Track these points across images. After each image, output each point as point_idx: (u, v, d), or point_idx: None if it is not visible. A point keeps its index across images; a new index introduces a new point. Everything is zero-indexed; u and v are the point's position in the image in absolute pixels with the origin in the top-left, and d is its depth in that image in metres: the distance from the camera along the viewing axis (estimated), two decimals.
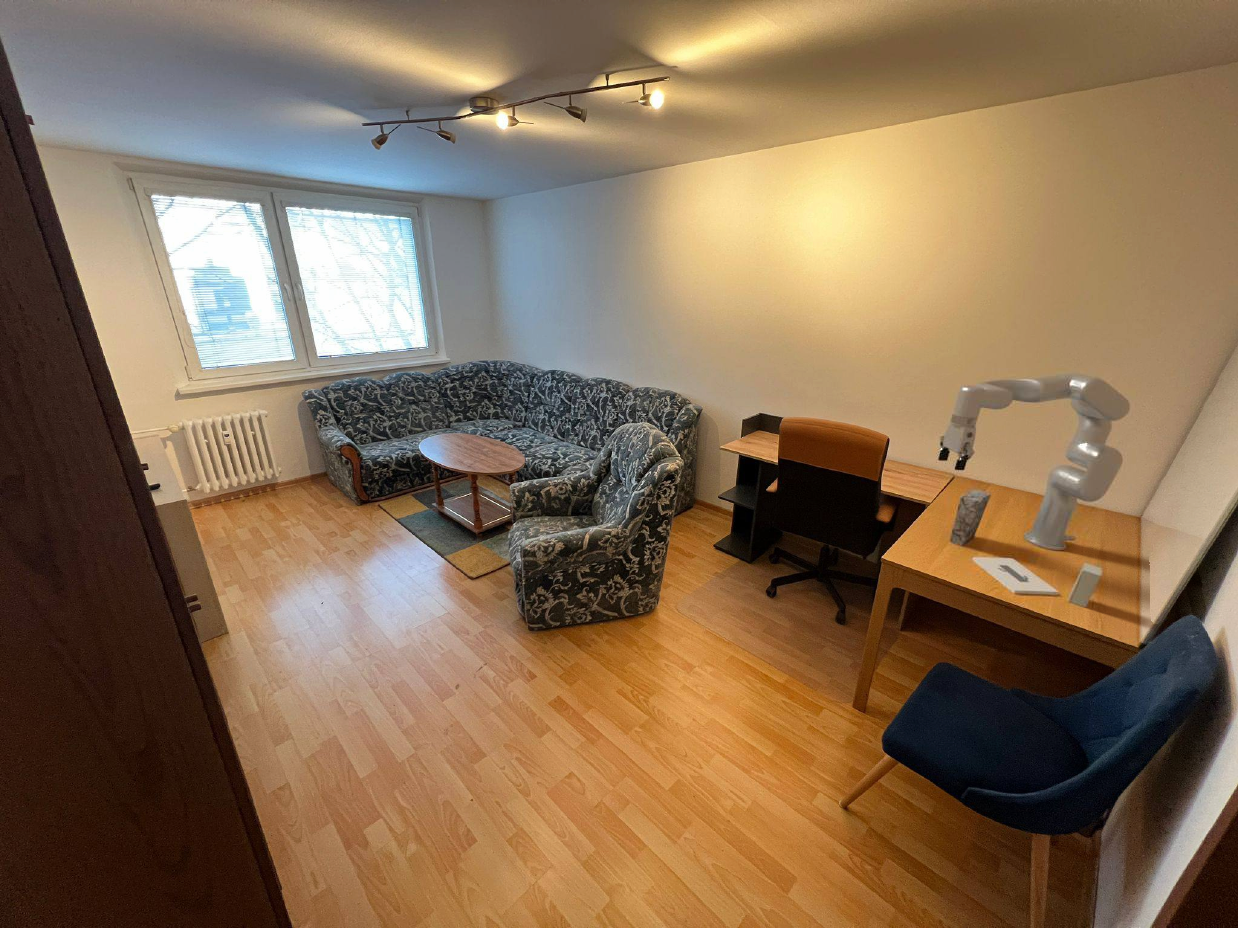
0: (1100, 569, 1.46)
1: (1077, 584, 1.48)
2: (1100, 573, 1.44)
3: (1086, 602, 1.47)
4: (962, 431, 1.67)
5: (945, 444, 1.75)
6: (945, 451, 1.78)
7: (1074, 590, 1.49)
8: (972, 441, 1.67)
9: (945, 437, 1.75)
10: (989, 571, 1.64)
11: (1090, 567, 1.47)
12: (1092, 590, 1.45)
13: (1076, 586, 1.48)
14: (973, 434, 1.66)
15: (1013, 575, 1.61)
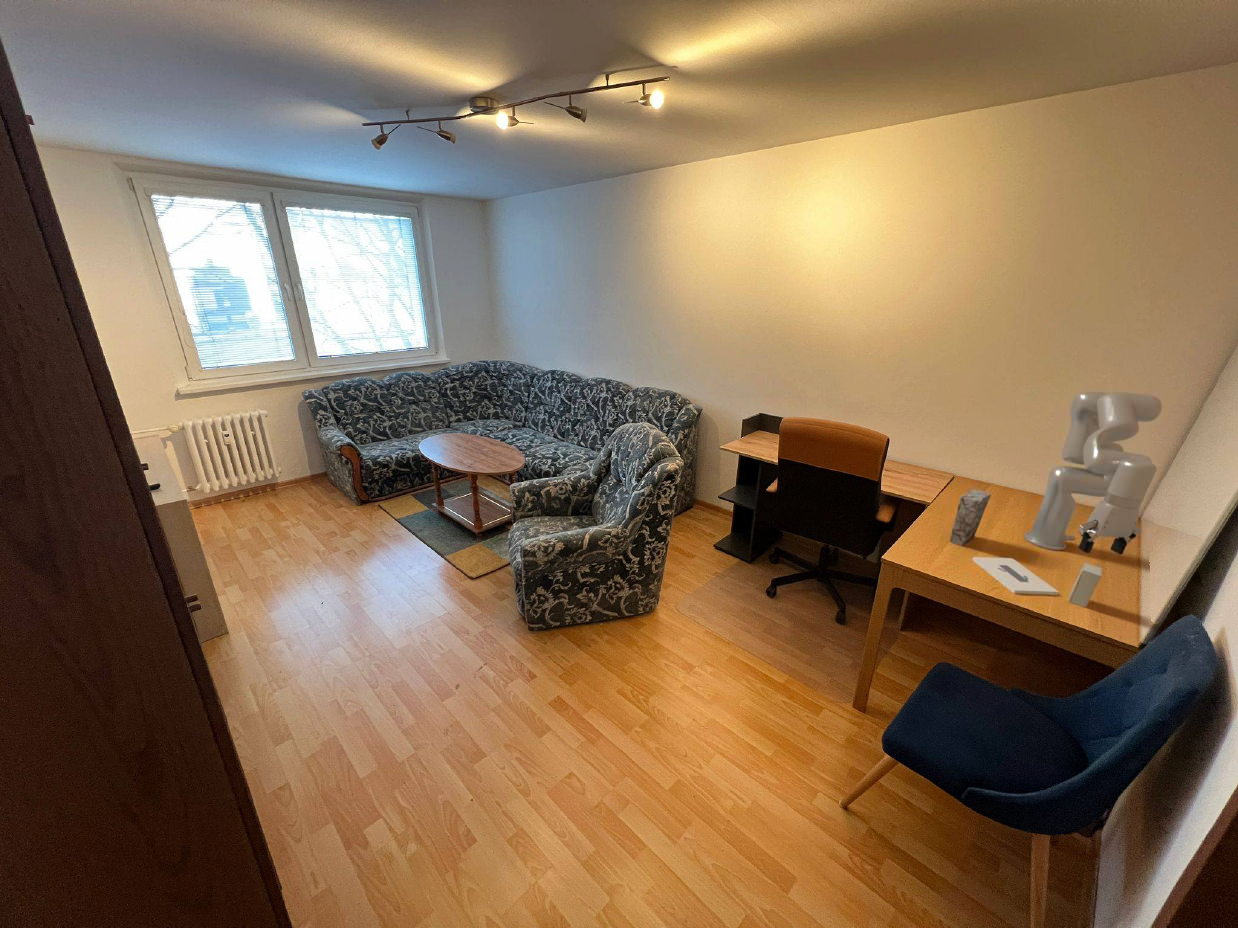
0: (1100, 569, 1.46)
1: (1077, 584, 1.48)
2: (1100, 573, 1.44)
3: (1086, 602, 1.47)
4: (1138, 513, 1.37)
5: (1106, 534, 1.40)
6: None
7: (1074, 590, 1.49)
8: None
9: (1106, 526, 1.39)
10: (989, 571, 1.64)
11: (1090, 567, 1.47)
12: (1092, 590, 1.45)
13: (1076, 586, 1.48)
14: None
15: (1013, 575, 1.61)
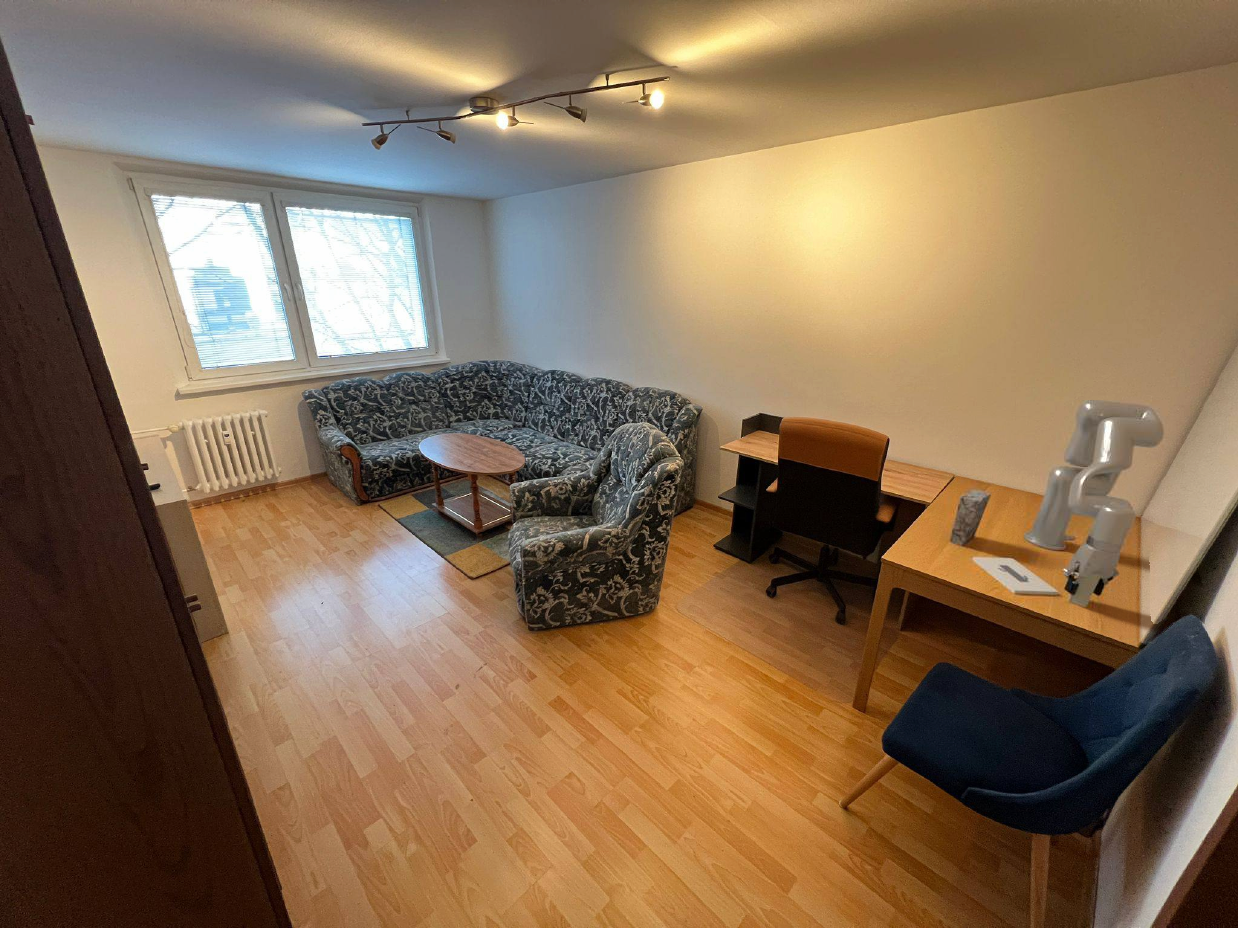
0: None
1: None
2: (1100, 573, 1.44)
3: (1086, 602, 1.47)
4: (1118, 556, 1.42)
5: (1088, 575, 1.45)
6: None
7: None
8: None
9: (1088, 568, 1.44)
10: (989, 571, 1.64)
11: None
12: (1092, 590, 1.45)
13: None
14: None
15: (1013, 575, 1.61)
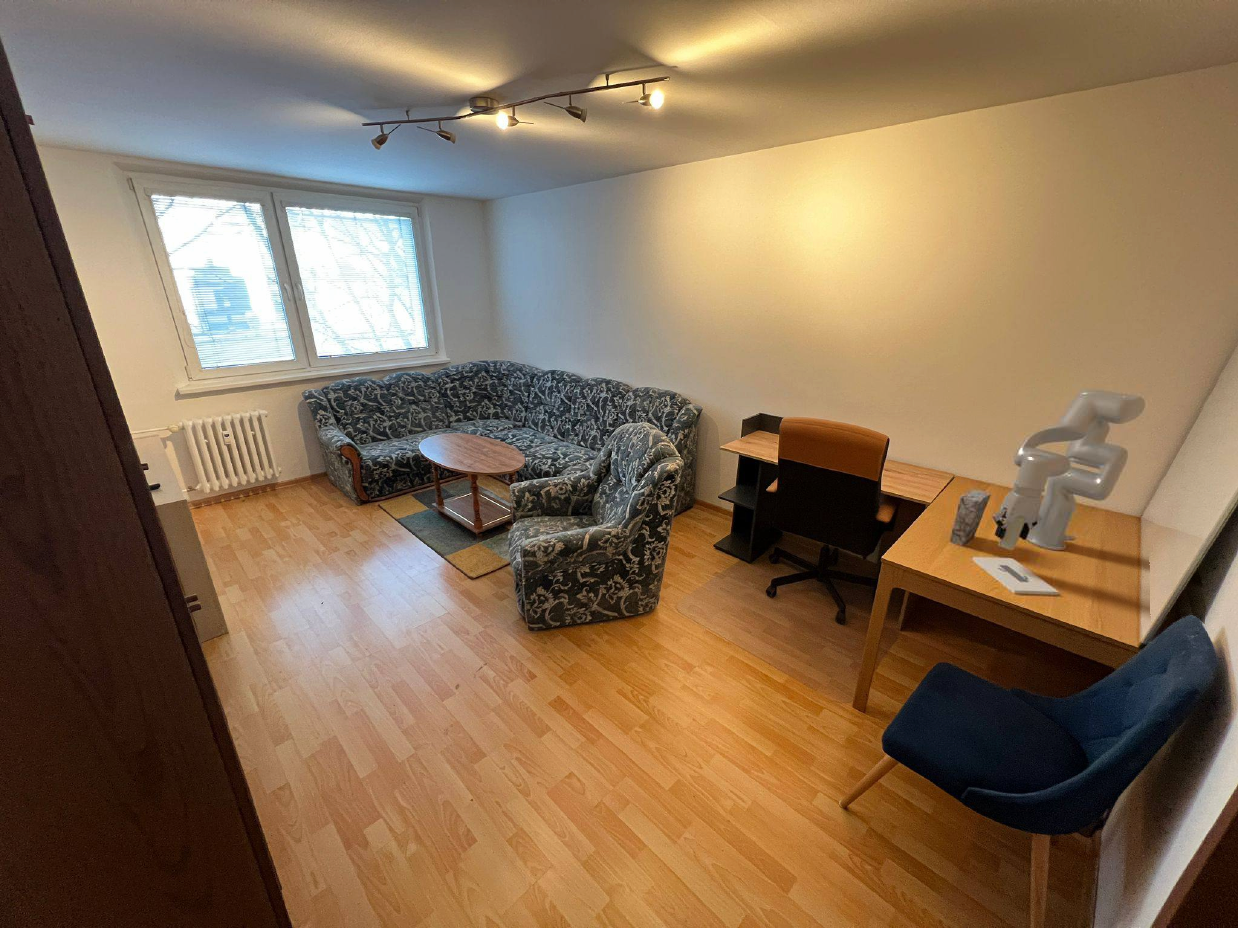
0: None
1: None
2: (1024, 518, 1.59)
3: (1013, 545, 1.62)
4: (1040, 501, 1.57)
5: (1013, 520, 1.60)
6: None
7: None
8: None
9: (1013, 513, 1.59)
10: (989, 571, 1.64)
11: None
12: (1018, 533, 1.60)
13: None
14: None
15: (1013, 575, 1.61)
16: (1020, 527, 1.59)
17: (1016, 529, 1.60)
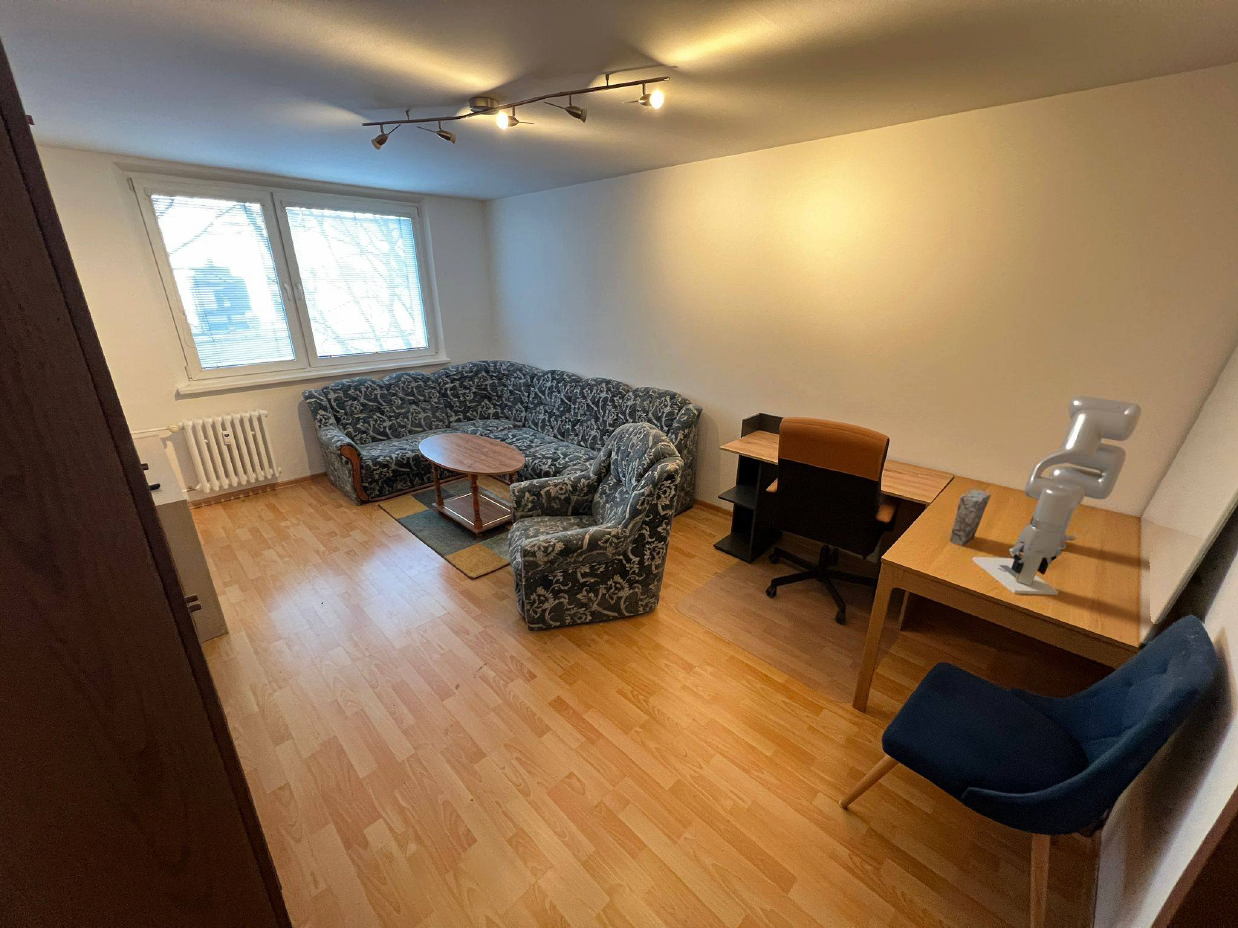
0: None
1: None
2: None
3: (1031, 580, 1.55)
4: (1060, 536, 1.50)
5: (1031, 554, 1.52)
6: None
7: None
8: None
9: (1031, 548, 1.52)
10: (989, 571, 1.64)
11: None
12: (1036, 569, 1.53)
13: None
14: None
15: (1013, 575, 1.61)
16: (1038, 562, 1.52)
17: (1034, 564, 1.53)
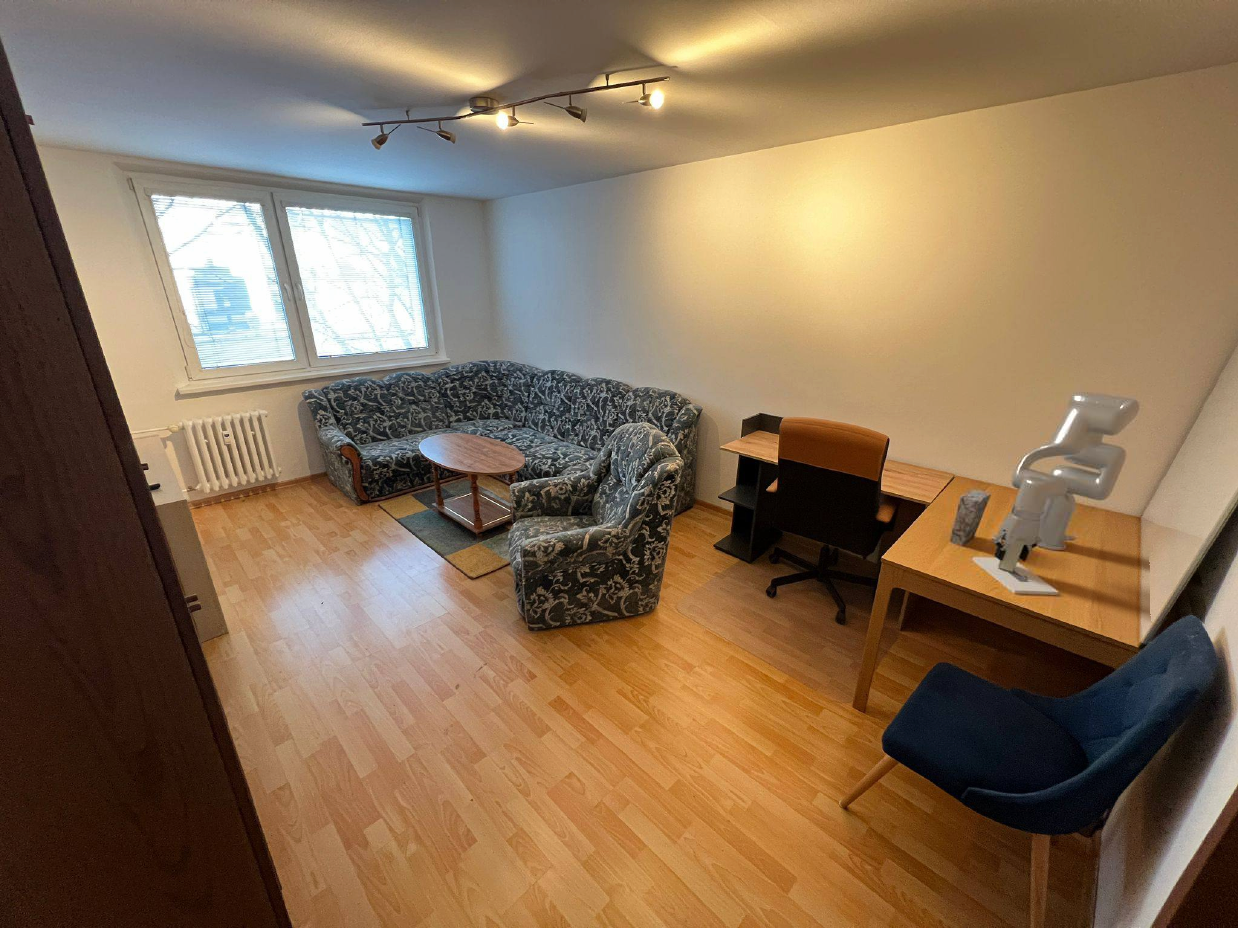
0: None
1: None
2: (1024, 540, 1.59)
3: (1012, 567, 1.62)
4: (1039, 524, 1.57)
5: (1013, 542, 1.60)
6: None
7: None
8: None
9: (1013, 535, 1.59)
10: (989, 571, 1.64)
11: None
12: (1017, 555, 1.60)
13: None
14: None
15: (1013, 575, 1.61)
16: (1019, 549, 1.59)
17: (1015, 551, 1.60)
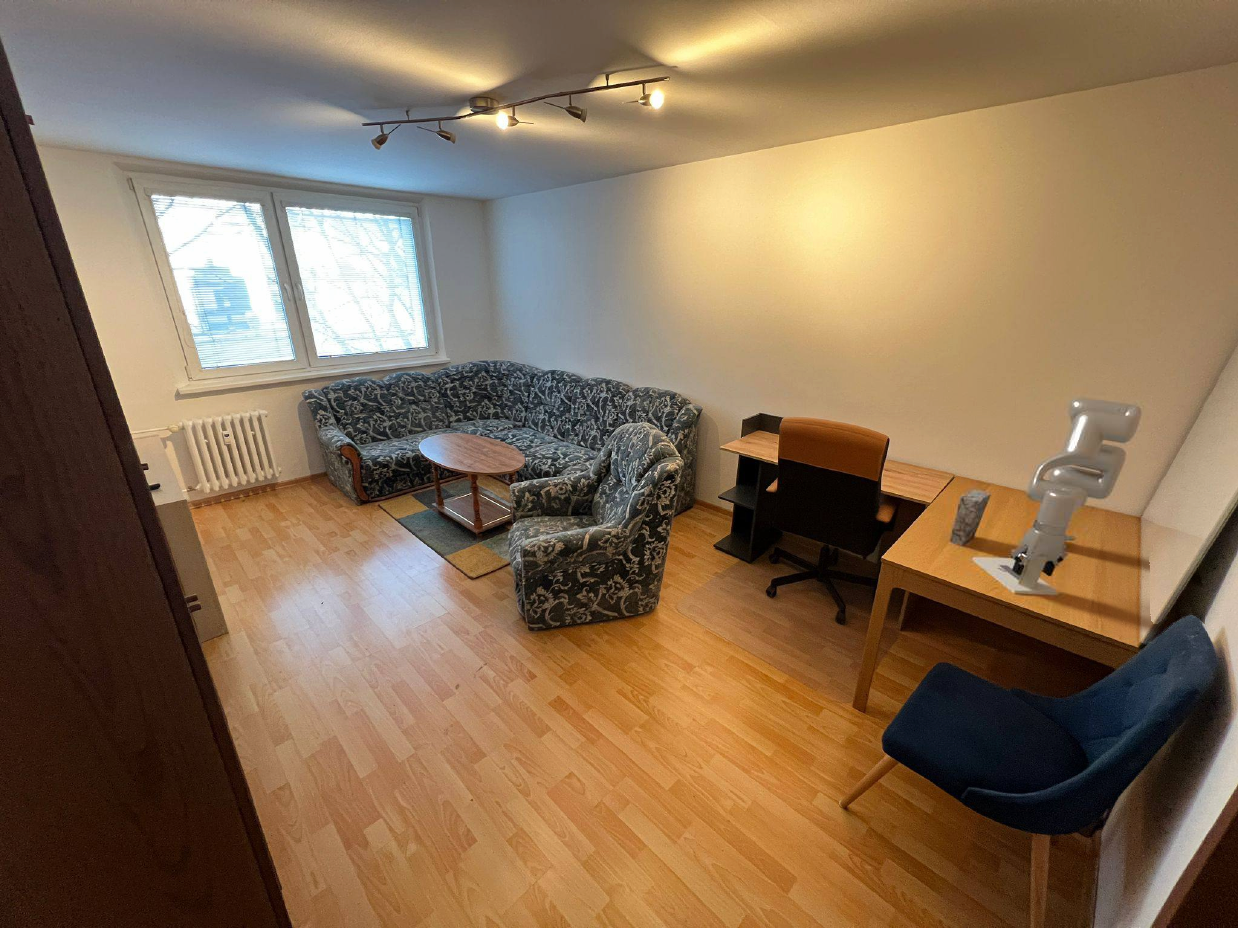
0: None
1: (1026, 567, 1.54)
2: (1047, 556, 1.50)
3: (1034, 584, 1.53)
4: (1063, 539, 1.49)
5: (1035, 558, 1.51)
6: None
7: (1023, 573, 1.55)
8: None
9: (1035, 551, 1.50)
10: (989, 571, 1.64)
11: None
12: (1039, 572, 1.52)
13: (1025, 569, 1.54)
14: None
15: (1013, 575, 1.61)
16: (1042, 566, 1.51)
17: (1038, 568, 1.52)
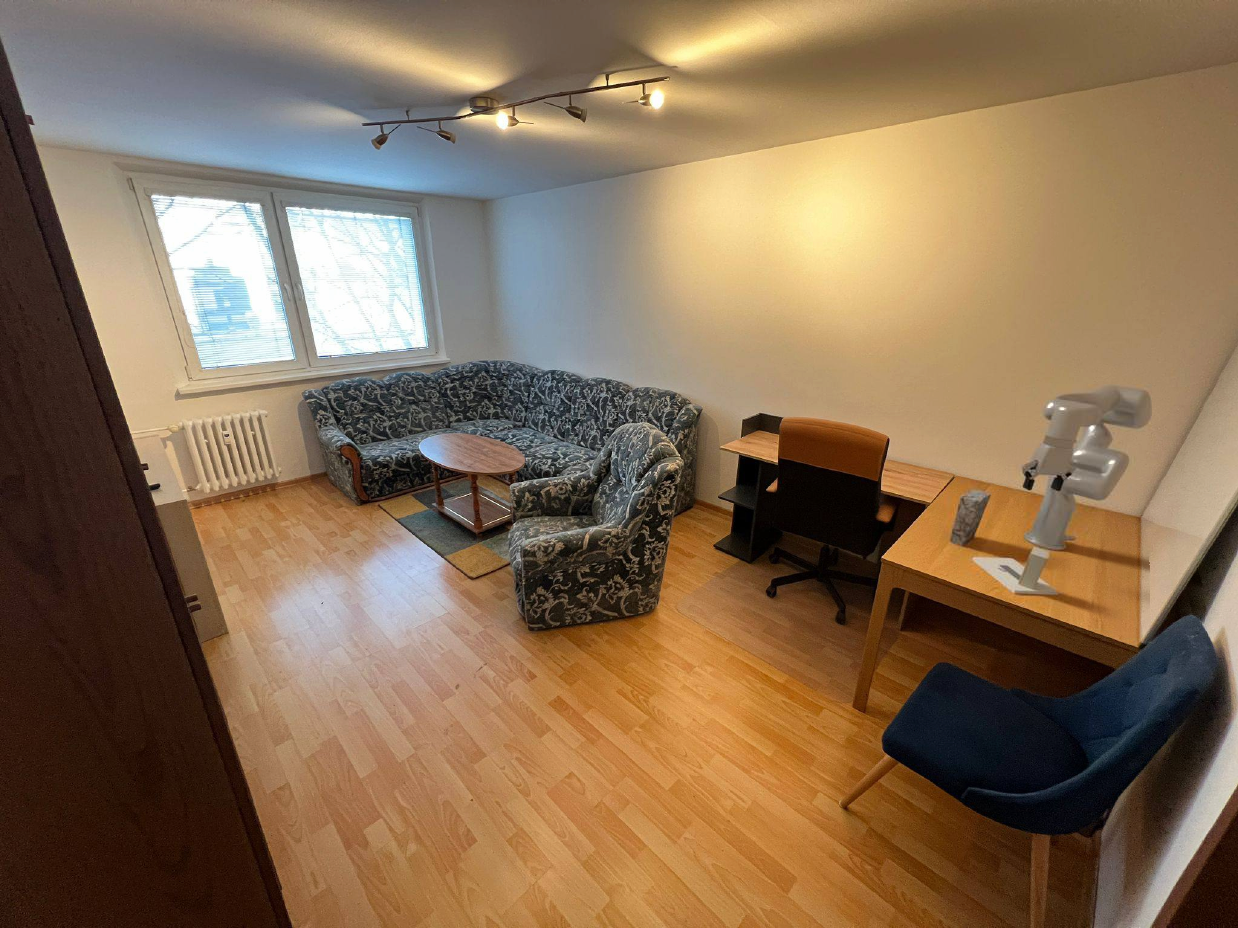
0: (1047, 552, 1.52)
1: (1026, 567, 1.54)
2: (1047, 556, 1.50)
3: (1034, 584, 1.53)
4: (1072, 453, 1.56)
5: (1045, 472, 1.59)
6: None
7: (1023, 573, 1.55)
8: None
9: (1044, 465, 1.58)
10: (989, 571, 1.64)
11: (1038, 550, 1.53)
12: (1039, 572, 1.52)
13: (1025, 569, 1.54)
14: None
15: (1013, 575, 1.61)
16: (1042, 566, 1.51)
17: (1038, 568, 1.52)
